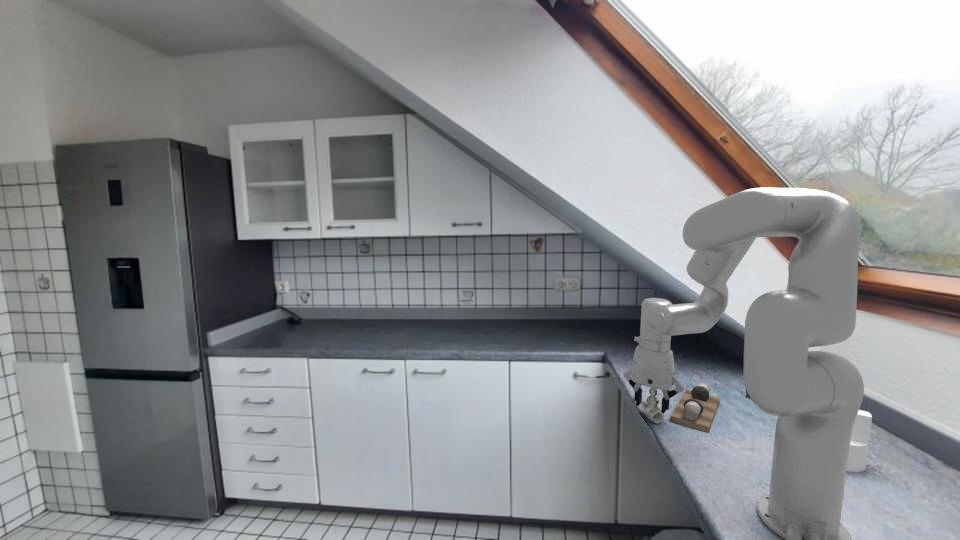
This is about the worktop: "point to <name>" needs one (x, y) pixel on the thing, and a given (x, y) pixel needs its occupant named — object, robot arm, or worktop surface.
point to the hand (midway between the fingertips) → (651, 406)
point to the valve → (652, 406)
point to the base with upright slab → (859, 442)
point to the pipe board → (702, 418)
